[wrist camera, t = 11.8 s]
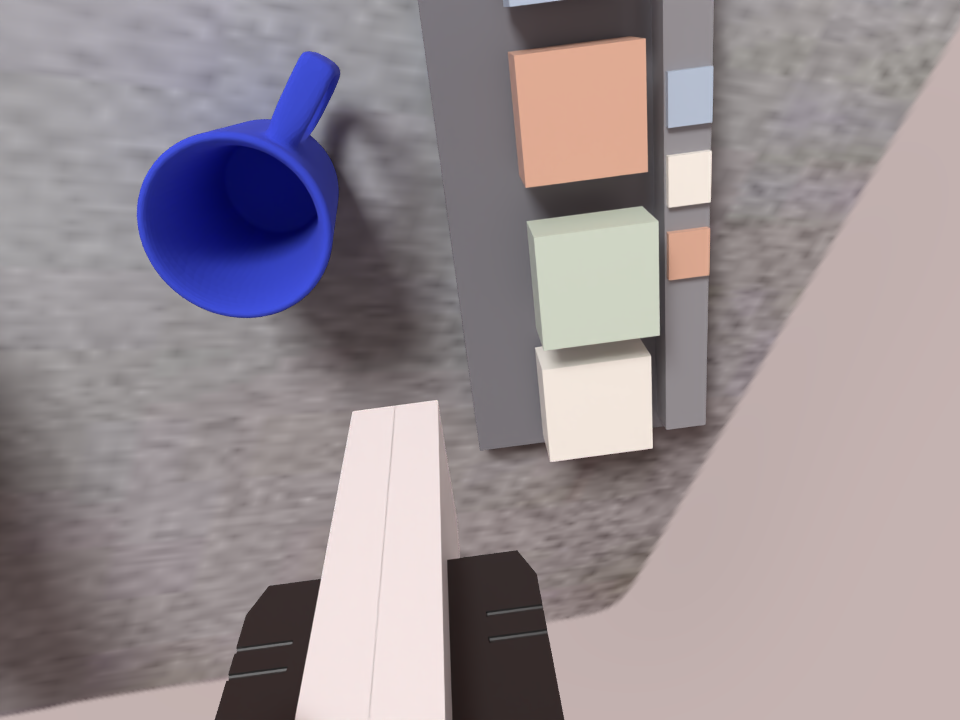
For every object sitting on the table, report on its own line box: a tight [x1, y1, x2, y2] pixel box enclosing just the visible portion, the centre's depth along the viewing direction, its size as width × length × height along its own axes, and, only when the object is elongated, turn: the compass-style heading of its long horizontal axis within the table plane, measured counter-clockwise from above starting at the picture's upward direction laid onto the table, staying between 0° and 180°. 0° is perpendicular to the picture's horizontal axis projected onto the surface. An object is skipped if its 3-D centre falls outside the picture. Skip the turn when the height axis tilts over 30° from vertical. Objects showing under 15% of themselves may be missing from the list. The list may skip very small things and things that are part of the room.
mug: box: [137, 51, 340, 318], centre depth 36 cm, size 8×12×10 cm
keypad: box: [418, 0, 714, 451], centre depth 40 cm, size 14×32×4 cm, turn 7°
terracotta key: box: [508, 36, 648, 188], centre depth 36 cm, size 6×6×3 cm
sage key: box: [526, 206, 660, 351], centre depth 38 cm, size 6×6×3 cm
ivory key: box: [535, 338, 653, 462], centre depth 43 cm, size 6×6×3 cm
